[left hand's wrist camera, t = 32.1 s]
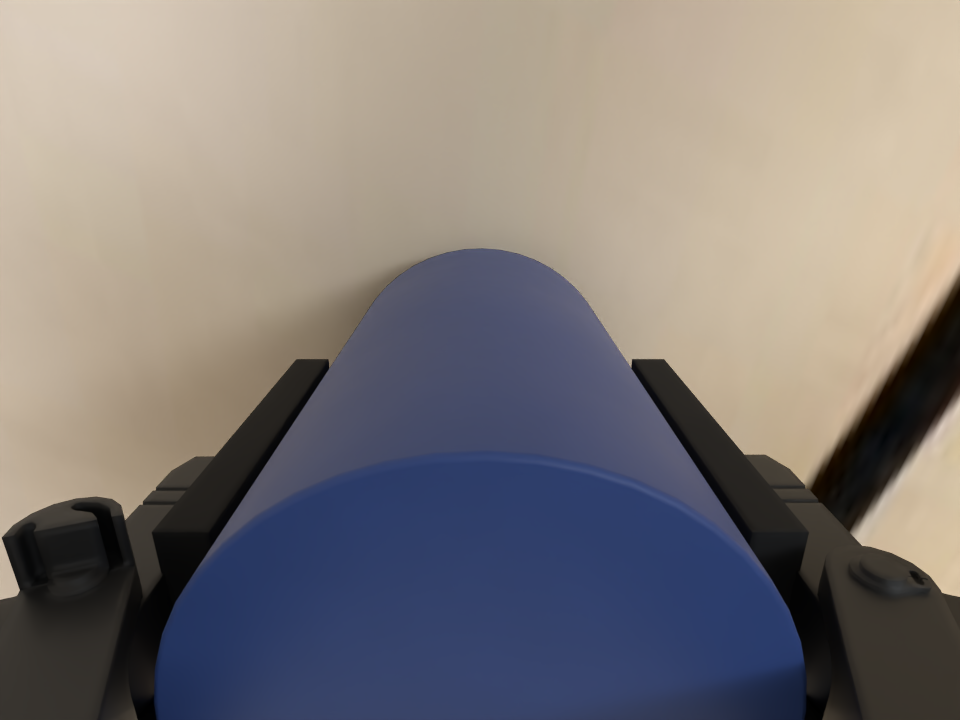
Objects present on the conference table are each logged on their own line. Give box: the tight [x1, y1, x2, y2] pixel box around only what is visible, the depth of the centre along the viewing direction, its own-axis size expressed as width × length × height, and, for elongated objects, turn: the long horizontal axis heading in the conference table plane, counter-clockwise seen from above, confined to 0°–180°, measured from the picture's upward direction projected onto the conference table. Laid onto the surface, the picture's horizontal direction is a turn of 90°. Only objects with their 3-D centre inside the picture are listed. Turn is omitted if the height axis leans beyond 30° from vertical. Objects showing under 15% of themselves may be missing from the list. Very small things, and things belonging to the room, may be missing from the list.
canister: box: [154, 249, 807, 720], centre depth 12 cm, size 7×7×11 cm
